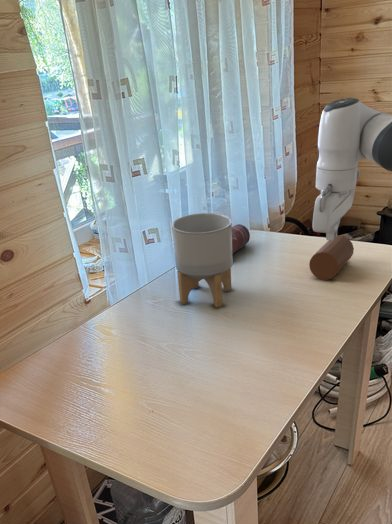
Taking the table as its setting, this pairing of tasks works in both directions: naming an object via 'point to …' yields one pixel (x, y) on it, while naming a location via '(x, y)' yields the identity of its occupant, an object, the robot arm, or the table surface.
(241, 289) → the table surface
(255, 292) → the table surface
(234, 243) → the can
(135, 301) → the table surface
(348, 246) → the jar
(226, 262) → the planter
